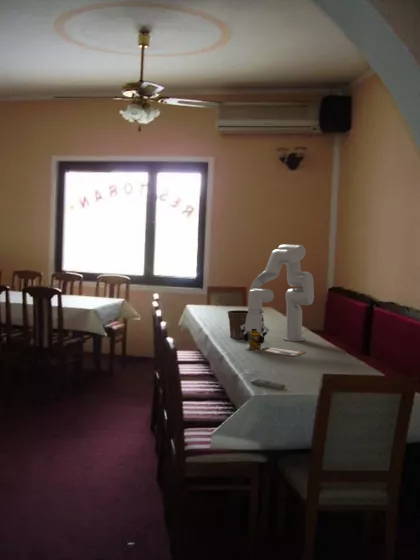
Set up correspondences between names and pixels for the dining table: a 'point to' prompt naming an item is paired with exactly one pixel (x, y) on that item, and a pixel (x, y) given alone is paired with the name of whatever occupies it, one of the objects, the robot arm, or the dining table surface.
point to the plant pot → (237, 323)
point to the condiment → (255, 340)
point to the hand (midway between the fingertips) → (254, 342)
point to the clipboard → (281, 351)
